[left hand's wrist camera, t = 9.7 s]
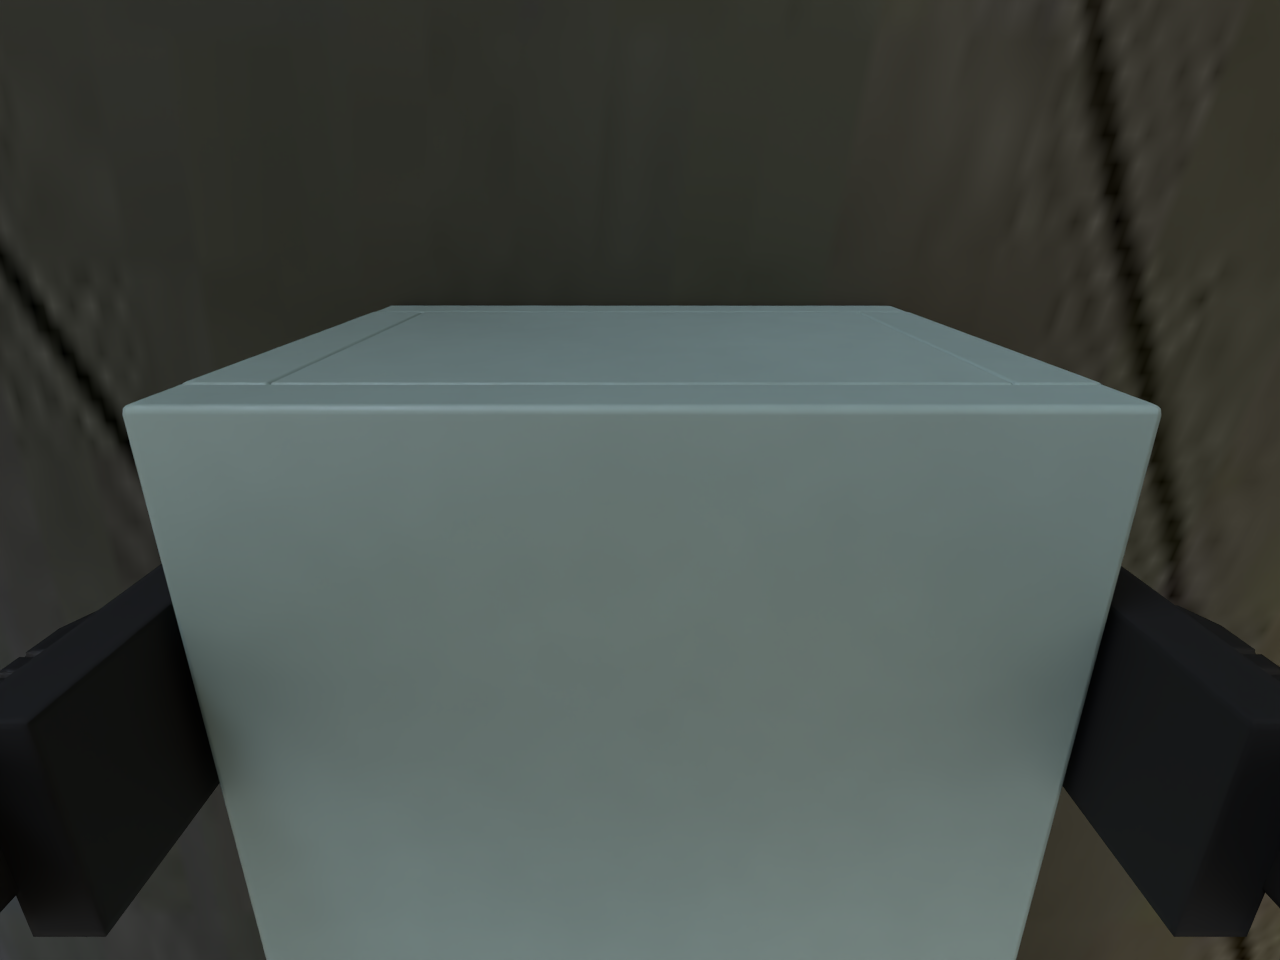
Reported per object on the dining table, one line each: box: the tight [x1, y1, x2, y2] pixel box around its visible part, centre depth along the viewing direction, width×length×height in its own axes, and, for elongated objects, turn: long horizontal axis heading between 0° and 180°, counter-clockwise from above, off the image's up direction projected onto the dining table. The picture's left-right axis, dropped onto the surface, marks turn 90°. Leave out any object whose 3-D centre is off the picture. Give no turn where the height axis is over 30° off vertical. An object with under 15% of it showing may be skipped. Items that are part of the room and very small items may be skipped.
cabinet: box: [123, 306, 1161, 960], centre depth 15 cm, size 20×11×8 cm, turn 0°
